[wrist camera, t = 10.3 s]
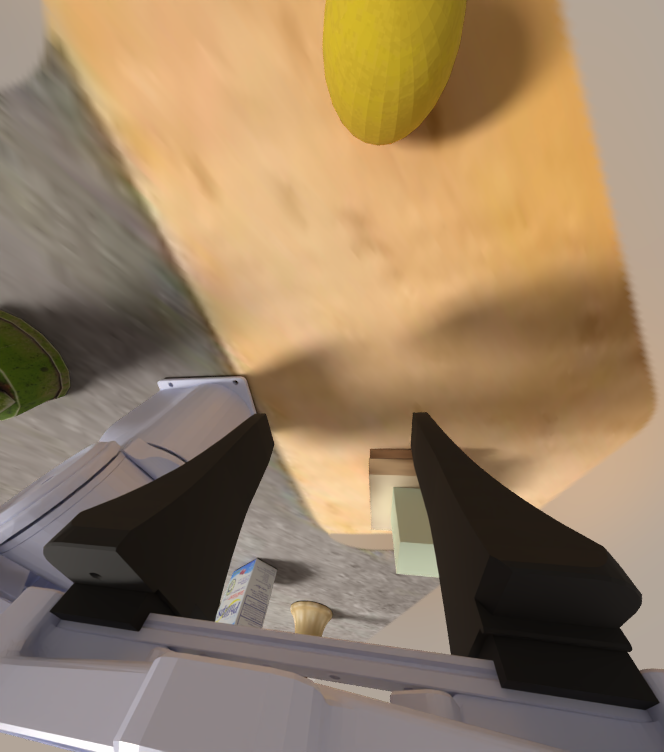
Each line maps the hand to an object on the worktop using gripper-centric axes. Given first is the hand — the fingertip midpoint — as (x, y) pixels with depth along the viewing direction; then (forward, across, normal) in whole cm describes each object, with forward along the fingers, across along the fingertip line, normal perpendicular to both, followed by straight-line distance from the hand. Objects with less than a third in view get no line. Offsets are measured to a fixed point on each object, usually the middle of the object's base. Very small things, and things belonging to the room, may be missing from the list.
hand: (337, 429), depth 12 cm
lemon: (+11, -3, -15) cm, 19 cm away
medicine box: (+10, +19, +40) cm, 46 cm away
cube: (+7, -6, +16) cm, 18 cm away
